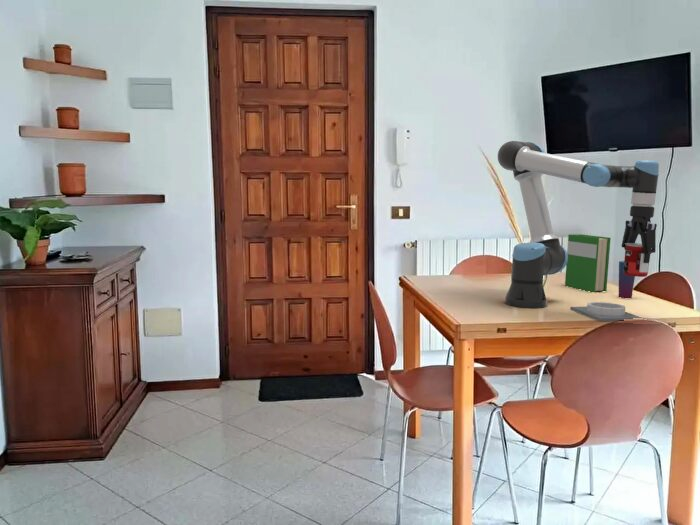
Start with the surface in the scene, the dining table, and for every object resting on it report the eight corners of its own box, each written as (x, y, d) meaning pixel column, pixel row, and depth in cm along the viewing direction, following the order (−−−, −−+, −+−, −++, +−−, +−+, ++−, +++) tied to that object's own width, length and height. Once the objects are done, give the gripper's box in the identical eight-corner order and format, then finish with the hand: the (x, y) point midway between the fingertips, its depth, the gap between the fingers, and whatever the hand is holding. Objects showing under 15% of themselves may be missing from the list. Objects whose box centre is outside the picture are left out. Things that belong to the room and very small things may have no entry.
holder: (600, 321, 204) (601, 311, 204) (570, 309, 224) (571, 300, 223) (643, 320, 207) (644, 310, 206) (610, 309, 226) (610, 299, 226)
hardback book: (606, 292, 265) (610, 237, 262) (593, 292, 262) (597, 237, 259) (577, 285, 281) (581, 234, 278) (564, 286, 278) (568, 234, 275)
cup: (635, 299, 248) (638, 263, 246) (618, 298, 249) (621, 262, 247) (631, 296, 255) (634, 261, 253) (614, 295, 256) (617, 260, 254)
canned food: (625, 272, 218) (629, 242, 217) (649, 275, 214) (653, 244, 212) (620, 274, 212) (623, 243, 211) (644, 277, 208) (648, 246, 206)
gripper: (672, 207, 200) (664, 275, 203) (633, 204, 220) (626, 265, 224) (652, 207, 199) (645, 275, 202) (614, 203, 219) (608, 265, 222)
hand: (635, 270), depth 213 cm, fingers closed on canned food, 8 cm apart
